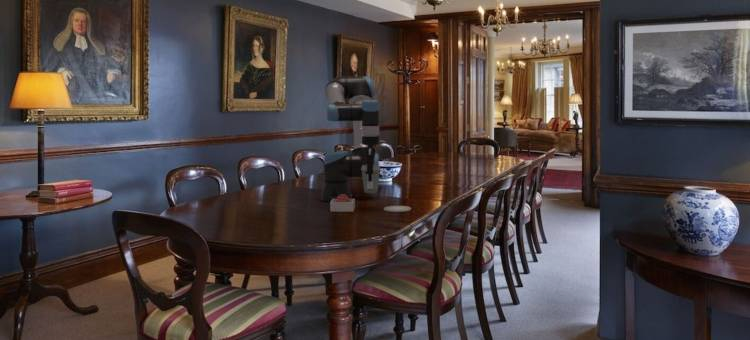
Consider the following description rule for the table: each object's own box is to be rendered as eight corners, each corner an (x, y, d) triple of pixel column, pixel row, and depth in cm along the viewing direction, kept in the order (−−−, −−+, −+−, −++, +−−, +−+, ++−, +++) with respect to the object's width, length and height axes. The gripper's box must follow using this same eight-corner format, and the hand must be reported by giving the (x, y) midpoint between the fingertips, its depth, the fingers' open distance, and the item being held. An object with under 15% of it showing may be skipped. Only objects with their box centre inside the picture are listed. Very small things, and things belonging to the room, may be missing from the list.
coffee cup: (383, 191, 254) (382, 164, 252) (376, 194, 246) (376, 166, 244) (365, 190, 257) (364, 163, 255) (358, 193, 249) (358, 166, 247)
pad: (378, 209, 252) (378, 207, 252) (398, 205, 259) (398, 204, 259) (396, 212, 243) (396, 211, 243) (416, 209, 250) (416, 208, 250)
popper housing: (330, 211, 247) (330, 202, 246) (332, 207, 257) (332, 198, 256) (353, 211, 246) (353, 202, 246) (355, 207, 256) (354, 198, 256)
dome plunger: (333, 207, 248) (333, 196, 247) (335, 204, 255) (335, 193, 254) (350, 207, 247) (350, 196, 247) (352, 204, 255) (352, 193, 254)
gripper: (363, 133, 259) (363, 183, 262) (360, 137, 237) (360, 190, 241) (380, 133, 258) (380, 183, 261) (378, 137, 237) (378, 191, 240)
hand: (370, 186), depth 251 cm, fingers closed on coffee cup, 8 cm apart
